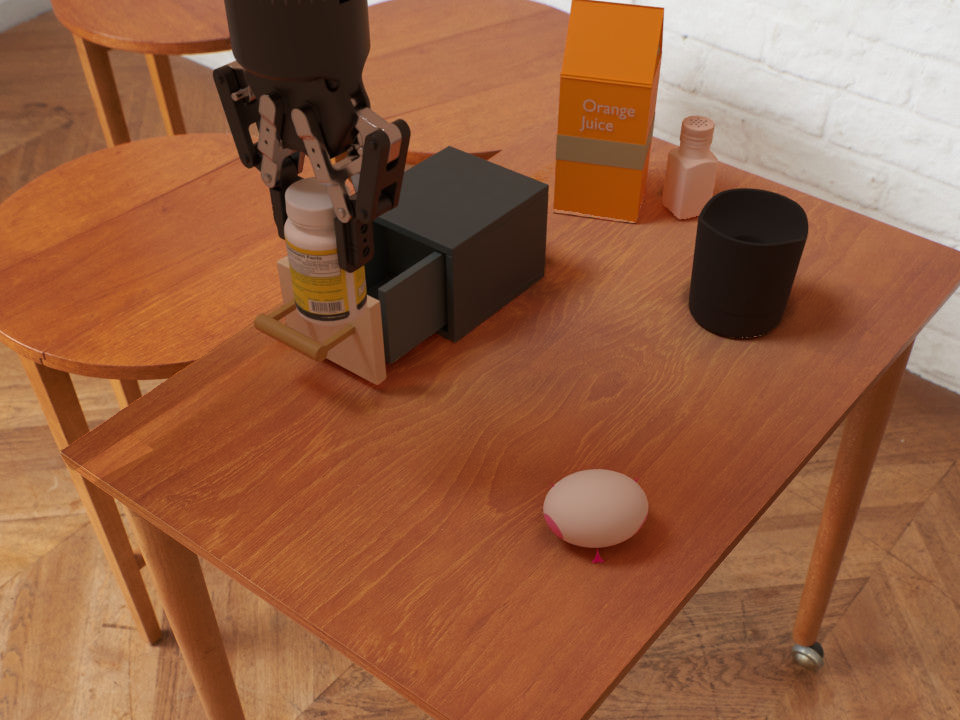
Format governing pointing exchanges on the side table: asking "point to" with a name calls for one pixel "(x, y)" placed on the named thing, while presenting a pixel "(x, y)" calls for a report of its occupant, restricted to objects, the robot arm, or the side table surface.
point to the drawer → (372, 309)
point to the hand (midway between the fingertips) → (325, 249)
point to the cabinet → (475, 231)
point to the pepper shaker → (691, 169)
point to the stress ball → (595, 508)
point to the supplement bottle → (319, 258)
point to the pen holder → (745, 261)
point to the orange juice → (607, 107)
